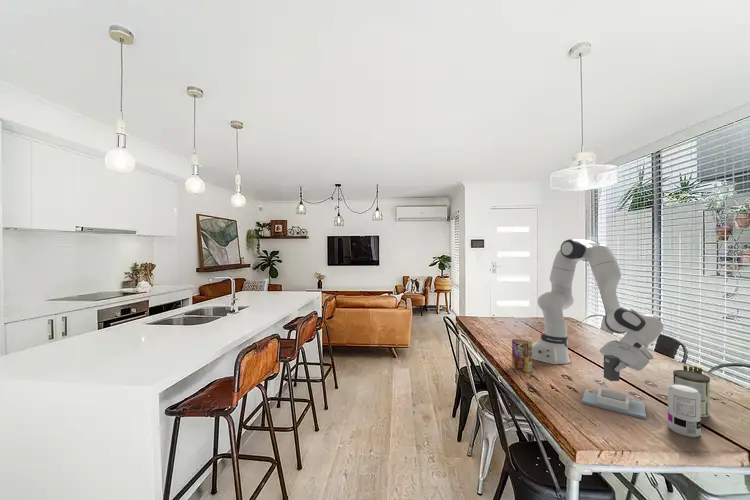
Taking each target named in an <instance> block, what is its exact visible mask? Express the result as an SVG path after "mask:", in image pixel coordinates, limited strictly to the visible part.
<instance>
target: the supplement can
mask: <svg viewBox="0 0 750 500" xmlns="http://www.w3.org/2000/svg"><path fill="white" fill-rule="evenodd" d="M667 427H668V428H669V429H670V430H671V431H672V432H673V433H677V434H678V435H680V436H681V435H682V436H684V437H688V438H698V437H700V436H701V434H702V431H701V430H702V417H701V395H700V393H699V392H698V390H697V389H695V388H693V387H690V386H686V385H681V384H674V383H671V384H670V385H669V386H668V388H667Z"/></svg>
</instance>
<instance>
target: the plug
mask: <svg viewBox="0 0 750 500" xmlns="http://www.w3.org/2000/svg"><path fill="white" fill-rule="evenodd" d="M603 363H604V364H603V378H604V379H606V380H608V381H610V382H620V377H621V376H620V371H621V370H620V371H619V372H616V371H614V370H613V367H614V366H618V365H620V360H619V358H618V357H616V356H613V355H604V356H603Z"/></svg>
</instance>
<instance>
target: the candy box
mask: <svg viewBox="0 0 750 500" xmlns="http://www.w3.org/2000/svg"><path fill="white" fill-rule="evenodd" d="M532 344H533V341H530V340H526V339H522V338H512V339H511V368H512V369H515V370H519V371H522V372H526V373H530V372H532V371H533V366H532V364H533V362H532V361H533V359H532Z"/></svg>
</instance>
